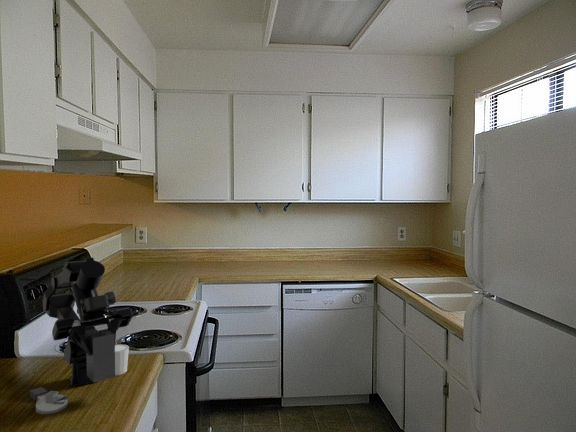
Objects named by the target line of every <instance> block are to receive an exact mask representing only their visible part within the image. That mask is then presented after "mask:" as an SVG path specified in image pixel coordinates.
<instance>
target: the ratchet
mask: <svg viewBox="0 0 576 432" xmlns="http://www.w3.org/2000/svg"><path fill="white" fill-rule="evenodd" d="M29 397H30V398H31V399H32V400H34V401H35V402H36V403H35V413H37V414H38V415H52V414H56V413H58V412H61V411H63V410H66V408H67V407H68V406H69V405H68V404H69V402H68V400H69V399H68V396H67V395H65V394H59V391H58V390H49V391H48V390H47V389H45V388H44V387H42V386H40V387H37V388H34V389H30V390H29Z"/></svg>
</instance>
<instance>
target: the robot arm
mask: <svg viewBox="0 0 576 432" xmlns="http://www.w3.org/2000/svg"><path fill="white" fill-rule="evenodd" d="M105 271H106V268H105V265H103V264H102V262H100V261H98V260H95V259H94V257H92V256H91V257H85V258H84V260H76V261H69V262H68V261H67V262H66V263H65V264H64V265H63V267H62V272H60V273H59V274H57V275H55V276H52V277H51V282H50V284H49V286H48V287H47V289H46V290H45V291H44V292H43V299H42V309H43V312H45V313H46V315H47V316H49V318H53V319H56V320H55V322H54V324H53V327H52V329H51V336H52V340H53V341H60V340H65V339H67V343H66V345H65V348H64V351H63V355H64V356H63V358H64V361H65V362H66V363H67V364H68V365H71V375H70V376H69V381H70V387H77V386H82V385H86V384H92V383H94V382H93V381H92V380H91V379H90V378H89V377H88V376H87V356H86V353H87V354H88V355H89V356H91V355H92V351H91V347H90V344H89V341H88V339H87V336H86V333H89V332H94V331H99V330H98V329H96V326H97V327H98V326H103V325H106V326H107V328H106V329H108V330H110V331H111V332H113V333H114V334H115V341H116V340H117V337H116V336H117V331H118V330H119V329H120V328H125V327H127V326H129V324H130V323H131V321H132V318H133V316H134V314H133V311H132V309H131V308H130V307H123V308H117V309H115V310H114V312H113V314H112V315H107V316H105V315H106V314H107V313H108V310H107V308H110V306H112V305H114V304H116V301H117V300H116V295H115V293H114V291H107V292H105V293H104V294H101V295H99V293H98V290H97V289H98V287H100V284H101V282H102V280H103V277H104V274H105ZM60 289H61V290H62V289H69V291H70V292H69V293H60V294H59V293H58V294H55V292H56V291H57V290H60ZM75 306H76V311H75V310H74V307H75Z"/></svg>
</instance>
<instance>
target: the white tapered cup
mask: <svg viewBox="0 0 576 432" xmlns="http://www.w3.org/2000/svg"><path fill="white" fill-rule="evenodd" d="M129 350H130V347H129V345H127V344H124V343H123V344H119V343H118V344H115V376H120V375H122V374H125V373H127V371H128V365H129V364H128V363H129V353H130V352H129Z"/></svg>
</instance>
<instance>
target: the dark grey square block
mask: <svg viewBox="0 0 576 432" xmlns="http://www.w3.org/2000/svg"><path fill="white" fill-rule="evenodd" d="M86 336H87V339H88V341H89V344H90V347H91V351H92V355H91V356H89V355H88V354H87V353H86V356H87V376H88V377H89V378H90V379H91V380H92V381H93V383H97V382H100V381H105V380H107V379H110V378H114V377H116V375H115V345H116V340H115V334H114V333H113V332H111V331H110V330H108V329H107V328H104V329H100V330H98V331H94V332H89V333H86Z"/></svg>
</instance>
